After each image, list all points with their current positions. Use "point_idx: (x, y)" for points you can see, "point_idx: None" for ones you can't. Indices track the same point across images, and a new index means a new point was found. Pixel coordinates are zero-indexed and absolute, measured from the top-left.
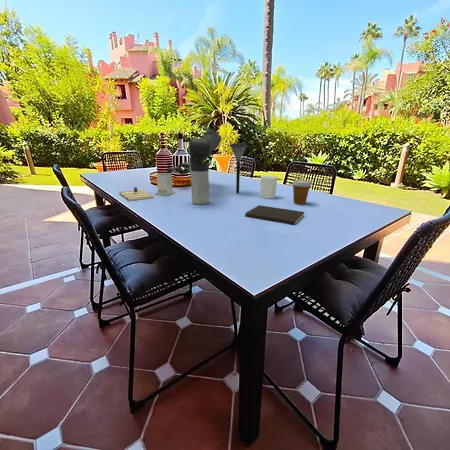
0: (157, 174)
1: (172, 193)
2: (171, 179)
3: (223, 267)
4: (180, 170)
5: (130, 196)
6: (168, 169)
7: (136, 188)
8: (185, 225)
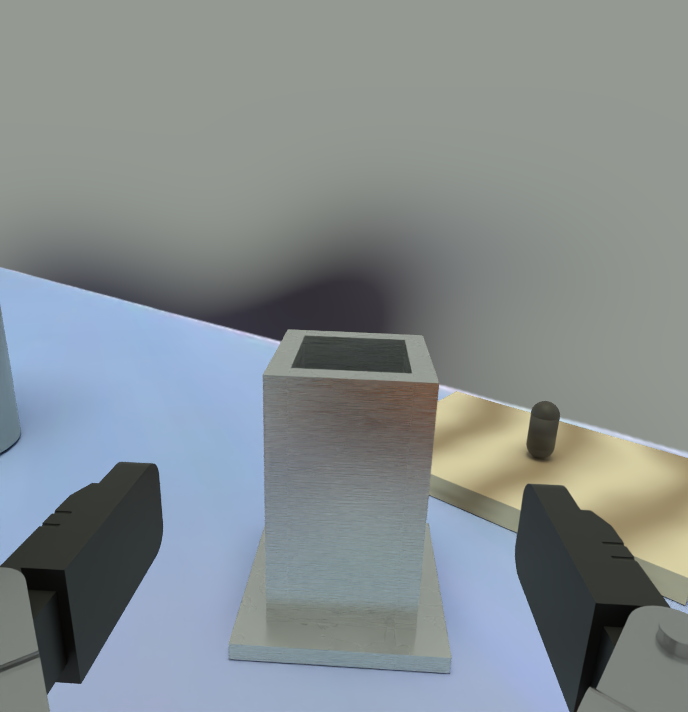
0: (422, 340)
1: (248, 586)
2: (265, 453)
3: (17, 275)
4: (110, 478)
5: (494, 413)
6: (542, 493)
7: (531, 411)
8: (78, 318)
